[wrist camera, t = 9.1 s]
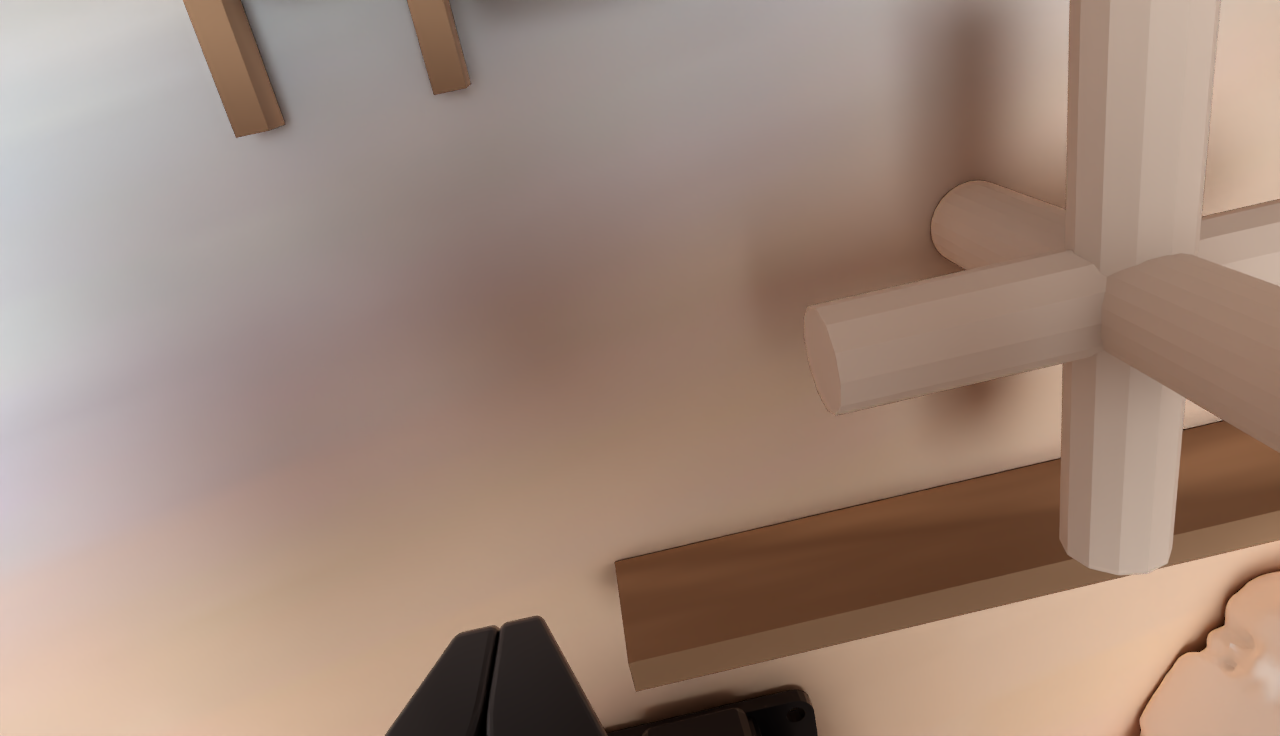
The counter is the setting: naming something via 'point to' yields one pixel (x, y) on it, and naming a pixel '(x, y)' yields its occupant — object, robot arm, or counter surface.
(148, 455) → the counter surface
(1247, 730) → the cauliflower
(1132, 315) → the pipe connector
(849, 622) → the dock cradle
